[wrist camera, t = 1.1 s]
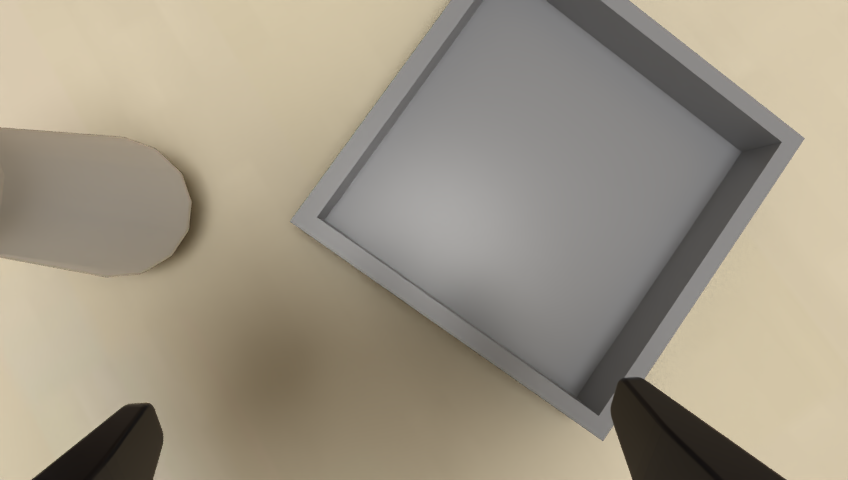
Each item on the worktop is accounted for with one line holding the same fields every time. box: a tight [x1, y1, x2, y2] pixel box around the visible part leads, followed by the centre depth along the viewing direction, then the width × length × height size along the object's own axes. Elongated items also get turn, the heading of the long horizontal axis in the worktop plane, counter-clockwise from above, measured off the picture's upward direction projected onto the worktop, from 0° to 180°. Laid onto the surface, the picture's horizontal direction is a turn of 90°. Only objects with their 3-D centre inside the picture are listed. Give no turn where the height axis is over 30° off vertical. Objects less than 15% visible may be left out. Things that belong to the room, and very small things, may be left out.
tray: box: [290, 0, 805, 441], centre depth 22 cm, size 17×17×3 cm
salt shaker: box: [0, 127, 192, 277], centre depth 15 cm, size 6×6×13 cm
